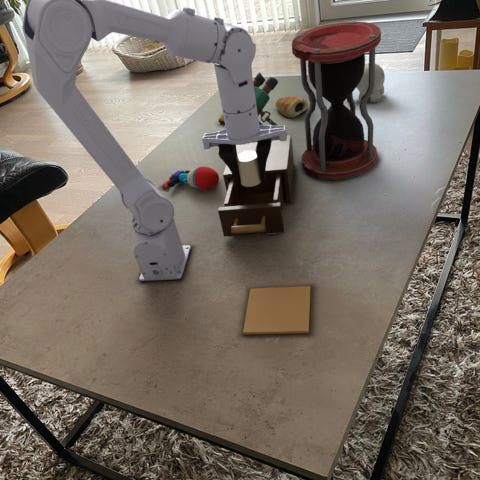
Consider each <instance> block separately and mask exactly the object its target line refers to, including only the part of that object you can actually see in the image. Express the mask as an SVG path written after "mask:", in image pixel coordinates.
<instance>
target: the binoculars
mask: <svg viewBox="0 0 480 480" xmlns="http://www.w3.org/2000/svg"><path fill="white" fill-rule="evenodd" d="M253 84H254V91H255V98H256V105H257V113H258V117H260V120H261V121H259V125H264V123H266V122H267V123H268V124H270V125H272V126H279V124H277V123H276V122H275V121H274V120H272V119H271V117H270V116H271V112H270V111H267V110H264V108H265V107H266V105H267V104H268V103H269V101H270V99H271V98H270V93H271V92H272V91H274V89H275V88H276V86H277V85H278V84H279V81H278V79H277V78H276V77H273V76H272V77H271V76H270V77H268V78H267V80H266V78H265V77H264V76H263V74H262V73H261V72H258V73H257V75H255V77H253ZM261 86H263V87H262V88H260V87H261ZM266 114H268V115H267V116H266V117H265V118H264V116H265V115H266ZM219 118H220V119H221V120H223V121H224V116H223V112H222V113H221V114H220V116H219V117H218V119H219ZM263 118H264V119H263Z"/></svg>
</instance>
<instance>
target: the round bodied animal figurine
mask: <svg viewBox="0 0 480 480" xmlns="http://www.w3.org/2000/svg"><path fill="white" fill-rule="evenodd" d="M385 79H386V75H385V71H384V69H383V67H382V66H381V65H379V64H378V63H375V84H374V90H373V93H372V94H371V96H370V97H369V98H368V100H367V102H369V100H370V102H371V103H378V102H380V101H381V98H382V96H383V95H384V94H385V86H384V84H385ZM368 86H369V62H368V63H365V69H364V75H363V77H362V79H361V81H360V83H359V84H358V86H357V87H356V88H355V89H357V90H358V92H359V94H358V97H357V98H358V102H359V103H360V102H361V98H362V96H363V95H364V94H365V93H366V91H367V89H368Z"/></svg>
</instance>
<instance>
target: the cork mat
mask: <svg viewBox="0 0 480 480" xmlns="http://www.w3.org/2000/svg"><path fill="white" fill-rule="evenodd" d="M311 290H312V289H311V286H310V285H305V286H277V287H260V288H259V287H255V288H254V287H253V288H251V287H250V289H249V294H248V301H247V306H246V310H245V311H246V313H245V317H244V325H243V330H242V334H243V335H283V334H284V335H289V334H310V316H311V315H310V314H311Z"/></svg>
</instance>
